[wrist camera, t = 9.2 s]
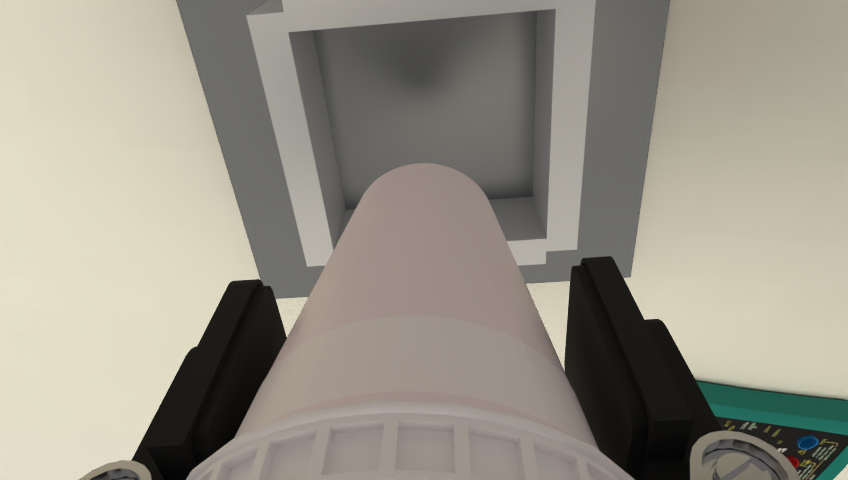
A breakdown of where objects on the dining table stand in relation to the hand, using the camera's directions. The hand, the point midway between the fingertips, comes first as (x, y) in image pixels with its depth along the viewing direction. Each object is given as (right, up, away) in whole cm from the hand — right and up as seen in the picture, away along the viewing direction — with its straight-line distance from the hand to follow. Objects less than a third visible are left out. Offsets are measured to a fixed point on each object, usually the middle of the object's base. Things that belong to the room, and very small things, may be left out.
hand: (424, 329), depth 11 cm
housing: (0, +8, +12) cm, 14 cm away
